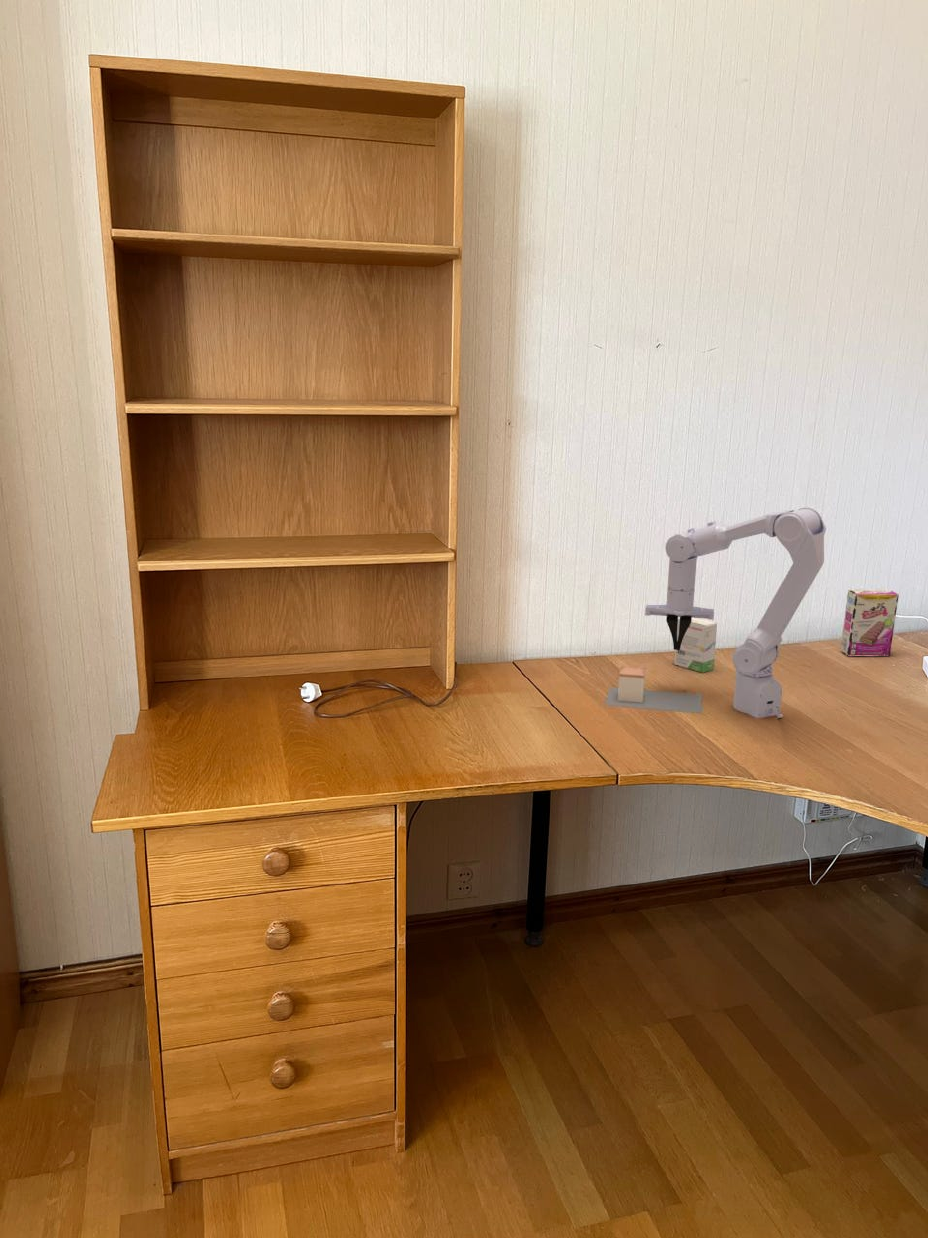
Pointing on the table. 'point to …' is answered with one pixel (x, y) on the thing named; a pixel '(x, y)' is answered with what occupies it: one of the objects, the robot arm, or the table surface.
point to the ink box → (697, 646)
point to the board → (660, 701)
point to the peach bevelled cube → (631, 684)
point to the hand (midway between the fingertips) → (676, 648)
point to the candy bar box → (869, 622)
